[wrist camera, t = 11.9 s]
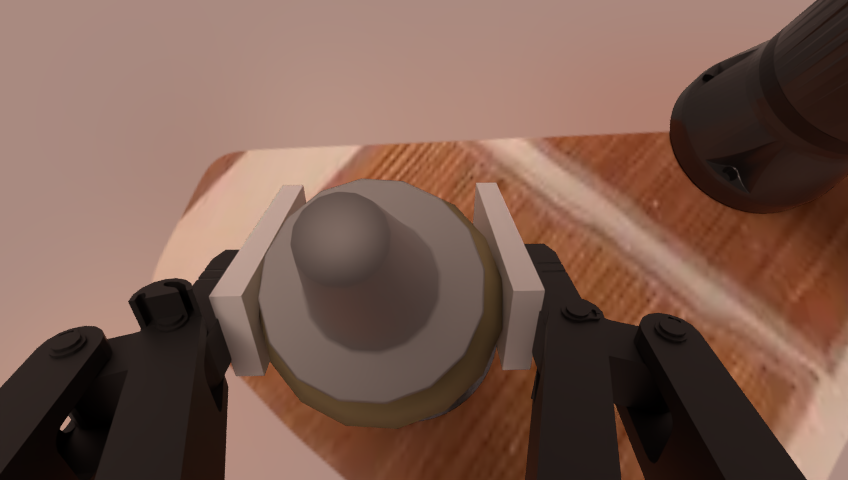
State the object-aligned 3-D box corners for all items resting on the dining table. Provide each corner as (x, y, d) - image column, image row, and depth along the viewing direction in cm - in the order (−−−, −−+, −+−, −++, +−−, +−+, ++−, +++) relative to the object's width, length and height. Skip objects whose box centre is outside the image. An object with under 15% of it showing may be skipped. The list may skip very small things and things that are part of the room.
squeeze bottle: (387, 220, 24) (307, -129, 6) (502, 306, 23) (803, 180, 5) (292, 335, 22) (-186, 305, 4) (412, 434, 21) (401, 902, 3)
